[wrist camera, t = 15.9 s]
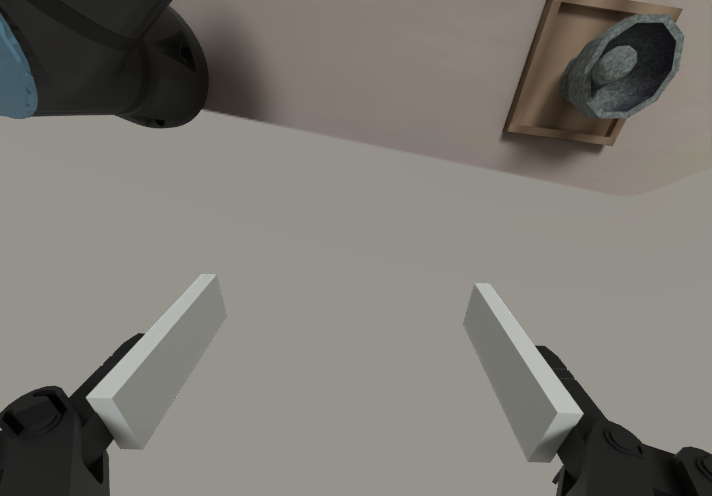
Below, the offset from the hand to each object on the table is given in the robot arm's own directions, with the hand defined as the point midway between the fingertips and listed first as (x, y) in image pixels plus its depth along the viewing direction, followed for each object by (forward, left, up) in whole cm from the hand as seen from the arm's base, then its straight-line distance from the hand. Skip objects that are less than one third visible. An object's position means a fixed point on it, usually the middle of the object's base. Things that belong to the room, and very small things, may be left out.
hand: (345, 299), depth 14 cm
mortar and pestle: (+15, +28, -31) cm, 44 cm away
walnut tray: (+15, +28, -31) cm, 45 cm away
